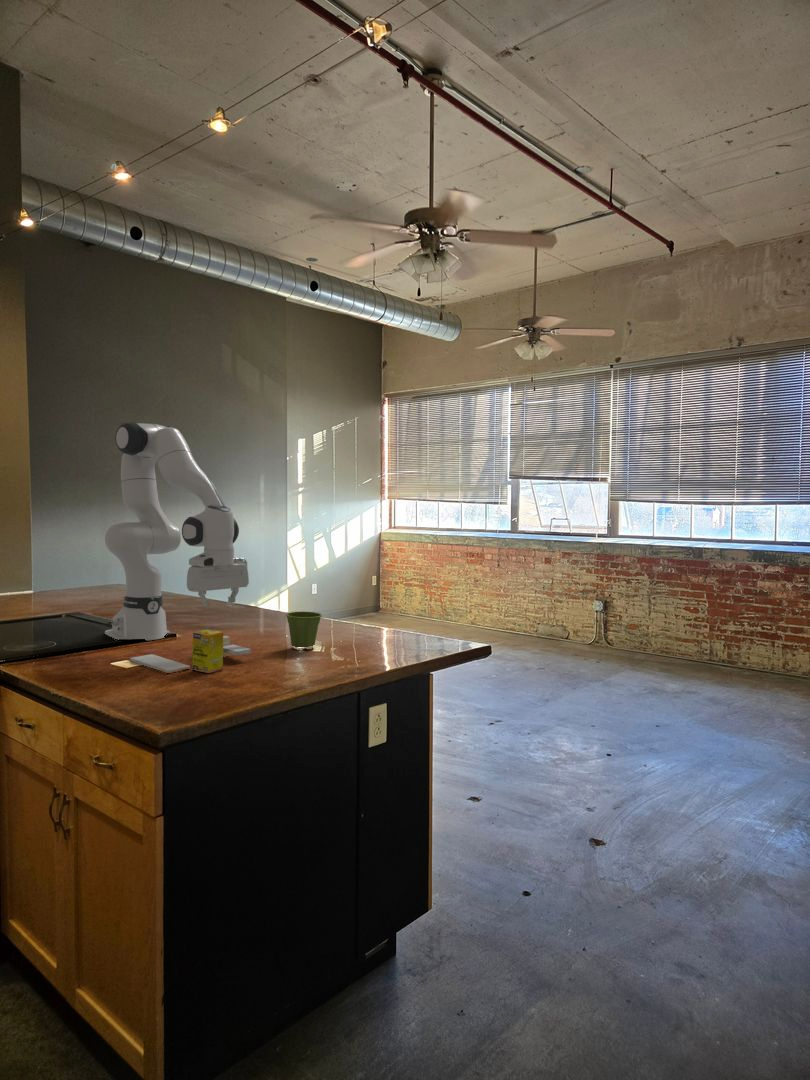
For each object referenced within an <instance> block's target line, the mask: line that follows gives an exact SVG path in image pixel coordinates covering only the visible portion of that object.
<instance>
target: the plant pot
mask: <svg viewBox="0 0 810 1080" xmlns="http://www.w3.org/2000/svg"><path fill="white" fill-rule="evenodd" d="M284 615H285V617H286V619H287V623H288V628H289V629H288V630H289V636H290V646H291V645H292V646H295V647H309V646H313V645H316V640H317V634H318V629H319V625H320V623H321V618H322V617H323V613H320V612H314V611H290V612H286V613H285V614H284Z"/></svg>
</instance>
